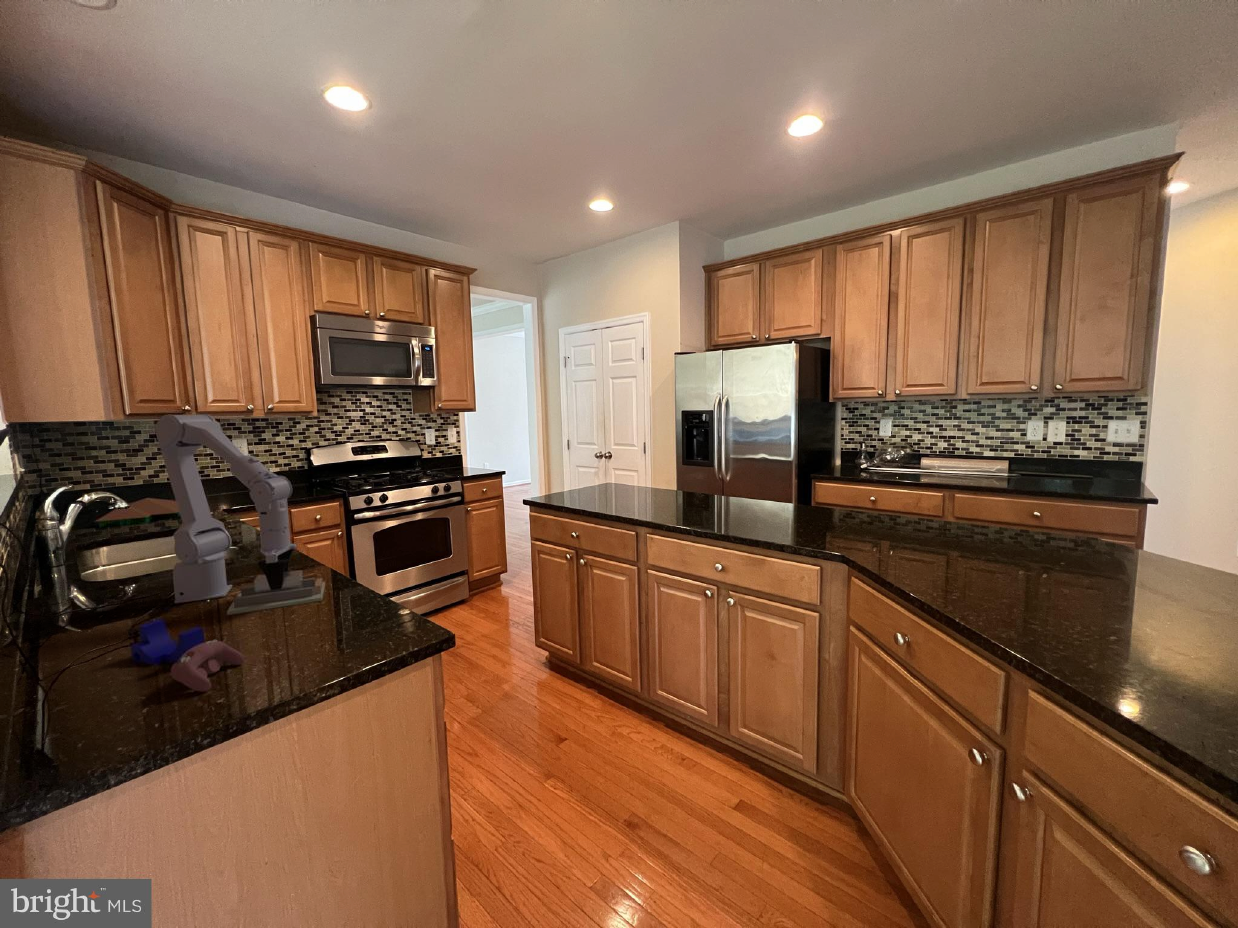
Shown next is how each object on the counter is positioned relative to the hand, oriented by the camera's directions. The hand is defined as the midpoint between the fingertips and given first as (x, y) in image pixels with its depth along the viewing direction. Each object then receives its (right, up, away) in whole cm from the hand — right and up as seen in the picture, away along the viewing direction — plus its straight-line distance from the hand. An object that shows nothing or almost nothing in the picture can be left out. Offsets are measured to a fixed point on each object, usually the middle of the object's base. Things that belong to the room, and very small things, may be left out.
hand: (278, 583), depth 118 cm
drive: (0, -3, 0) cm, 3 cm away
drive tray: (0, -4, 0) cm, 4 cm away
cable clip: (-1, -7, -28) cm, 29 cm away
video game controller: (+12, -8, -34) cm, 37 cm away
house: (-116, +6, +88) cm, 146 cm away
